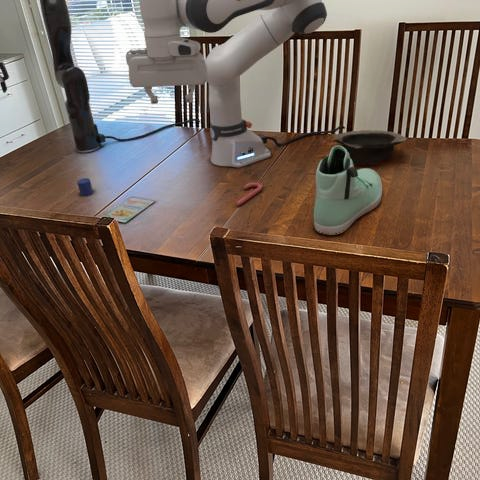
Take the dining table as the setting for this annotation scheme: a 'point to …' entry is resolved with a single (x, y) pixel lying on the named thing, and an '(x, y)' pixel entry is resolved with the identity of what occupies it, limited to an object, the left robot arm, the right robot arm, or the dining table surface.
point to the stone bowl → (369, 145)
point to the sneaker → (343, 192)
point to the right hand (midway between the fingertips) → (172, 102)
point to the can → (85, 186)
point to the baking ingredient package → (129, 209)
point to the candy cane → (250, 192)
